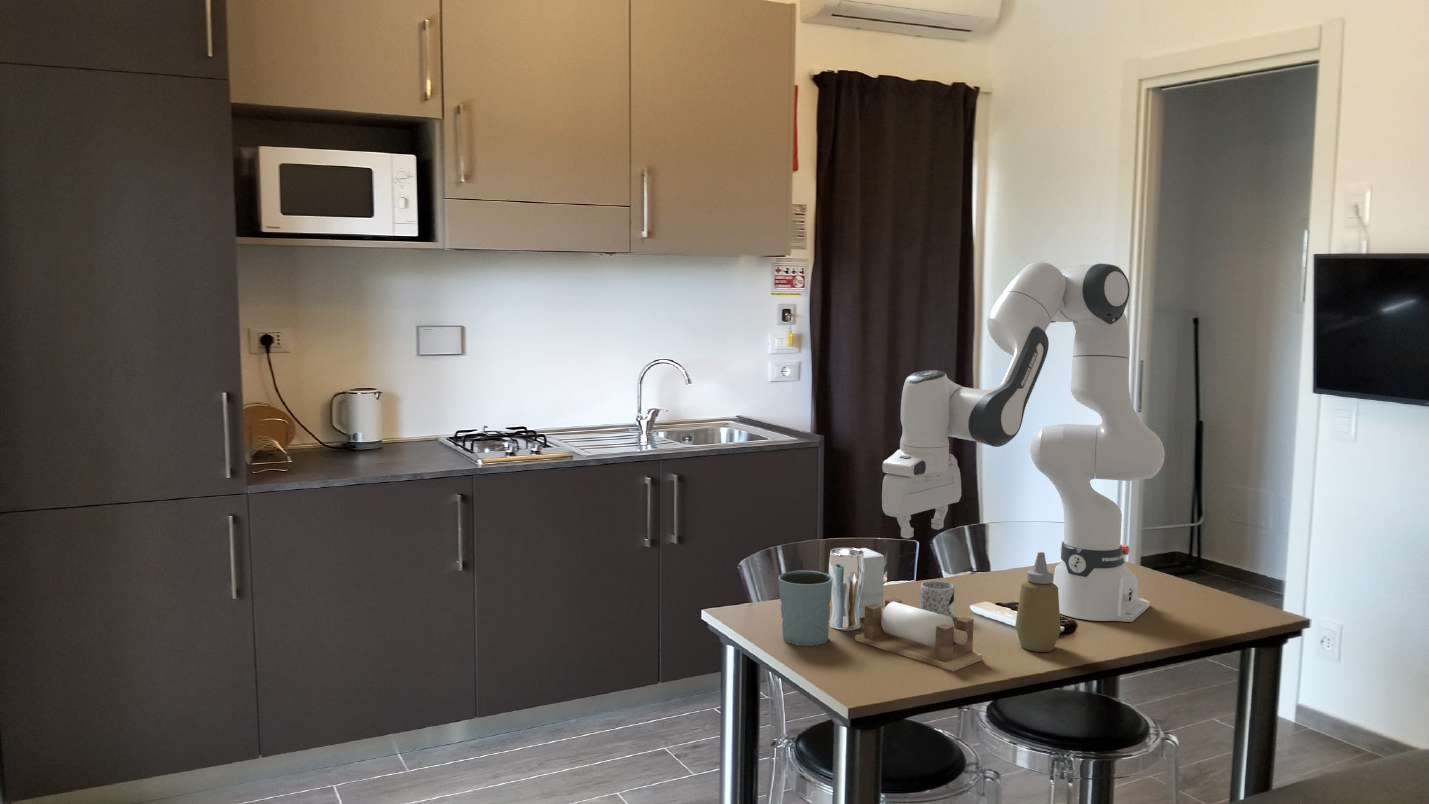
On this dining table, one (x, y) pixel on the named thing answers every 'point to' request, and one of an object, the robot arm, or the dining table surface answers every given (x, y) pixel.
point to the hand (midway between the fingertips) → (922, 532)
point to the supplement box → (872, 580)
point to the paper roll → (916, 624)
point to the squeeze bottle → (1038, 609)
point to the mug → (937, 597)
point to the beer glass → (846, 587)
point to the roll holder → (940, 655)
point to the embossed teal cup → (805, 606)
